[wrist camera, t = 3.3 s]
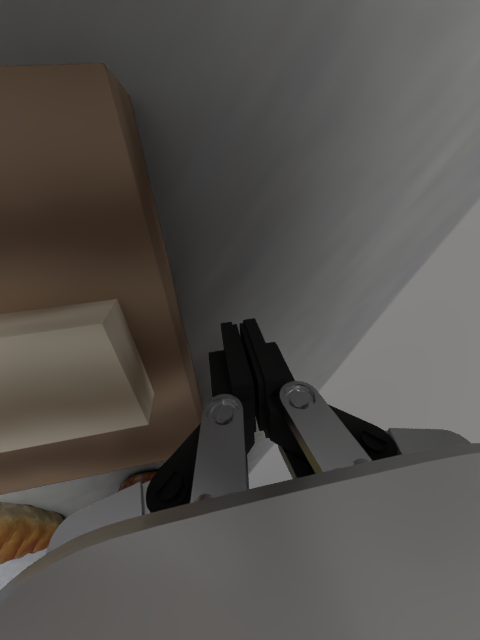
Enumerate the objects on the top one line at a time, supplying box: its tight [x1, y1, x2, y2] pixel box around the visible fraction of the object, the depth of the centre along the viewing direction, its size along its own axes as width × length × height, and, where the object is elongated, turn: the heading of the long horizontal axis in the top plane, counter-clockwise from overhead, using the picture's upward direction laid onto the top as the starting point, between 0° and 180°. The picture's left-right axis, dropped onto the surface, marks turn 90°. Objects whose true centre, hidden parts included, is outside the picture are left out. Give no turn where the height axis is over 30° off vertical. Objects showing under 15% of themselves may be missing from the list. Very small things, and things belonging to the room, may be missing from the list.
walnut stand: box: [0, 63, 203, 495], centre depth 12 cm, size 20×14×3 cm
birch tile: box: [0, 299, 154, 453], centre depth 10 cm, size 6×8×2 cm
